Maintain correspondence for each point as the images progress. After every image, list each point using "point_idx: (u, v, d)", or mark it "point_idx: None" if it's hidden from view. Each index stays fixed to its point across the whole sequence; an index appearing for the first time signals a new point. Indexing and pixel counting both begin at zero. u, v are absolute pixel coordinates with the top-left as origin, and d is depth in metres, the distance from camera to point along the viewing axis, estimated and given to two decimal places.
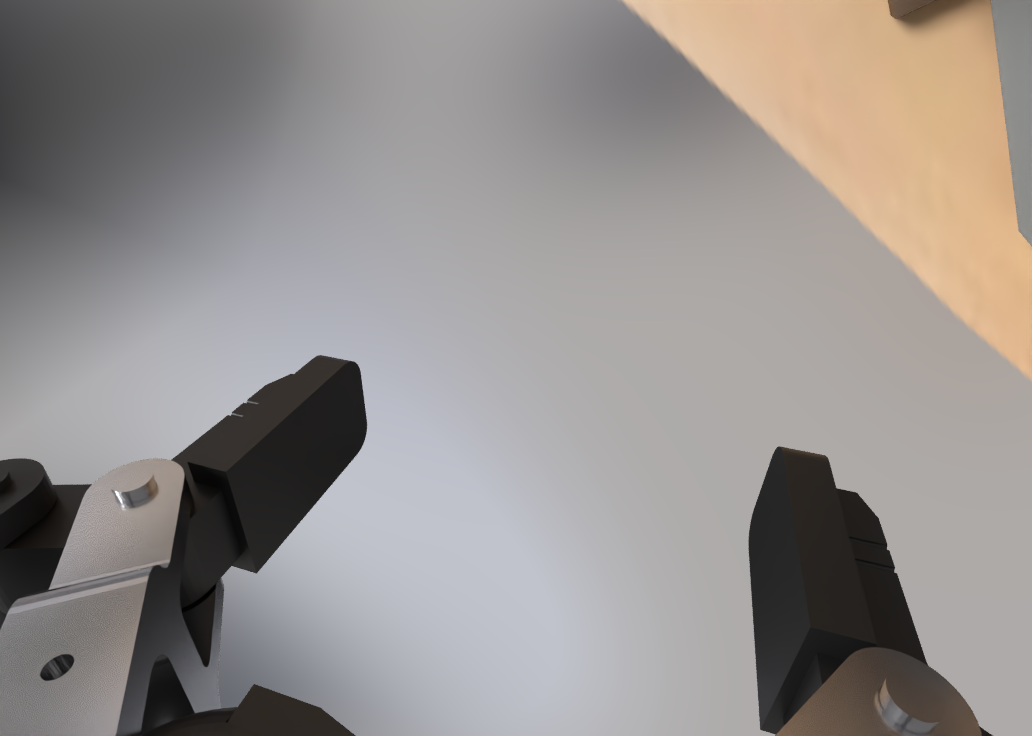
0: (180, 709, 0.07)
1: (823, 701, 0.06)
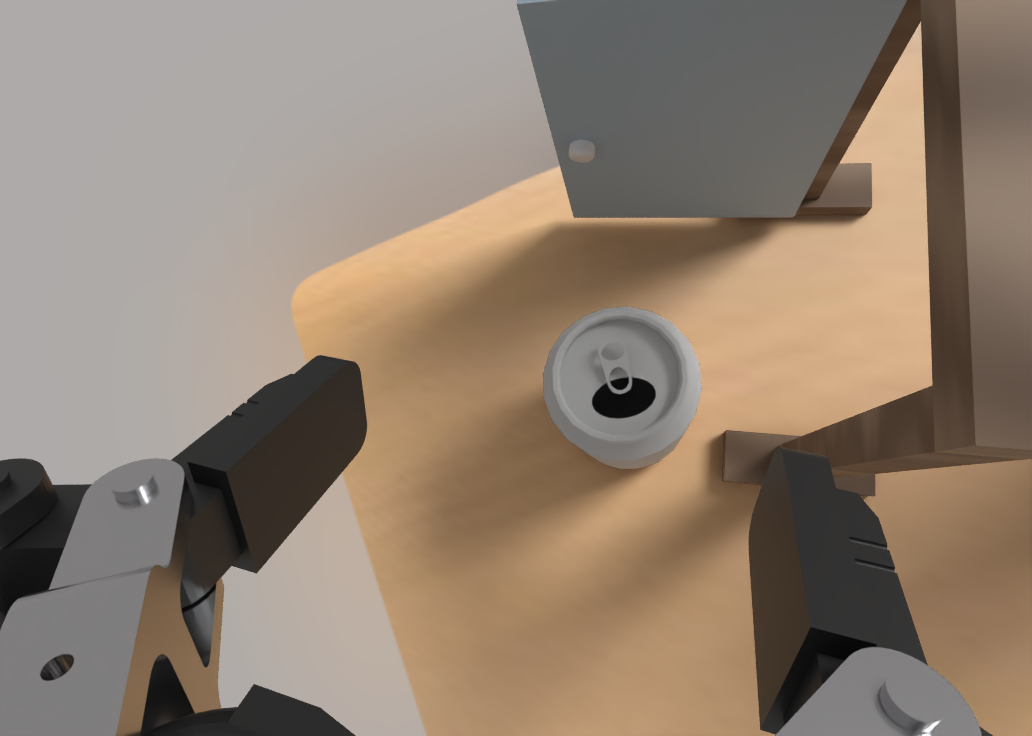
0: (180, 709, 0.07)
1: (823, 701, 0.06)
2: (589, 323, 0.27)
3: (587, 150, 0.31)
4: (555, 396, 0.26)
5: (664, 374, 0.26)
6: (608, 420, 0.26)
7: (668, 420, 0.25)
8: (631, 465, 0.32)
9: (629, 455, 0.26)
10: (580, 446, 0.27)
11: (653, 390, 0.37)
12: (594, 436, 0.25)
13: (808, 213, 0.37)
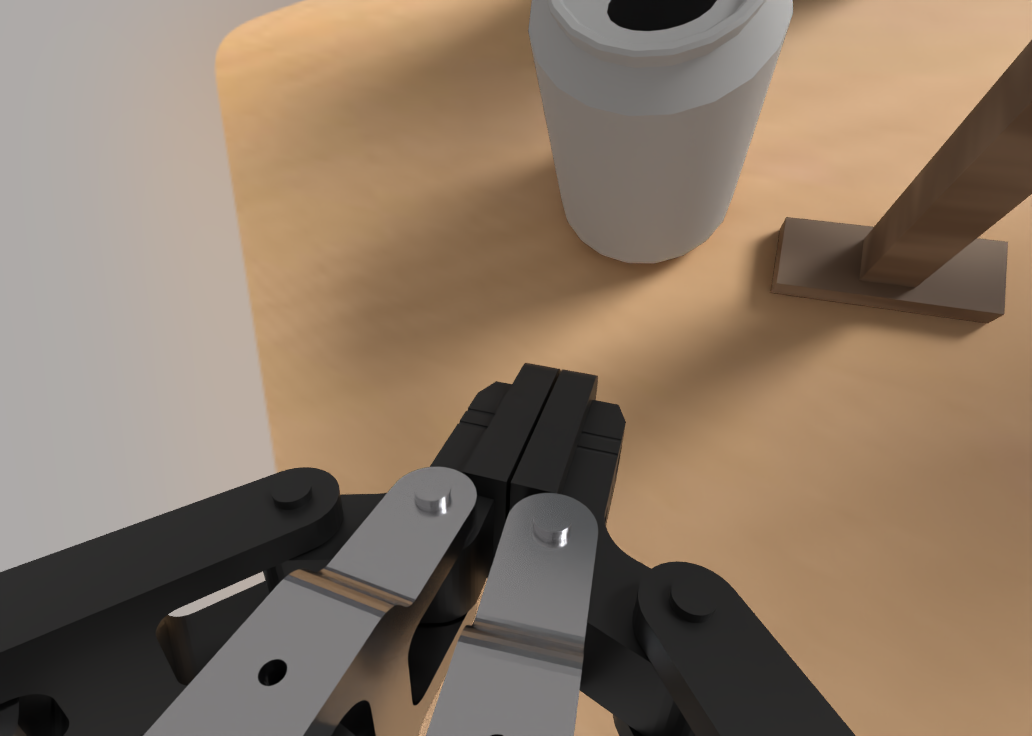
0: None
1: (502, 557, 0.07)
2: None
3: None
4: None
5: None
6: (633, 33, 0.15)
7: (738, 19, 0.14)
8: (648, 217, 0.21)
9: (659, 104, 0.15)
10: (578, 95, 0.16)
11: None
12: (605, 44, 0.15)
13: None
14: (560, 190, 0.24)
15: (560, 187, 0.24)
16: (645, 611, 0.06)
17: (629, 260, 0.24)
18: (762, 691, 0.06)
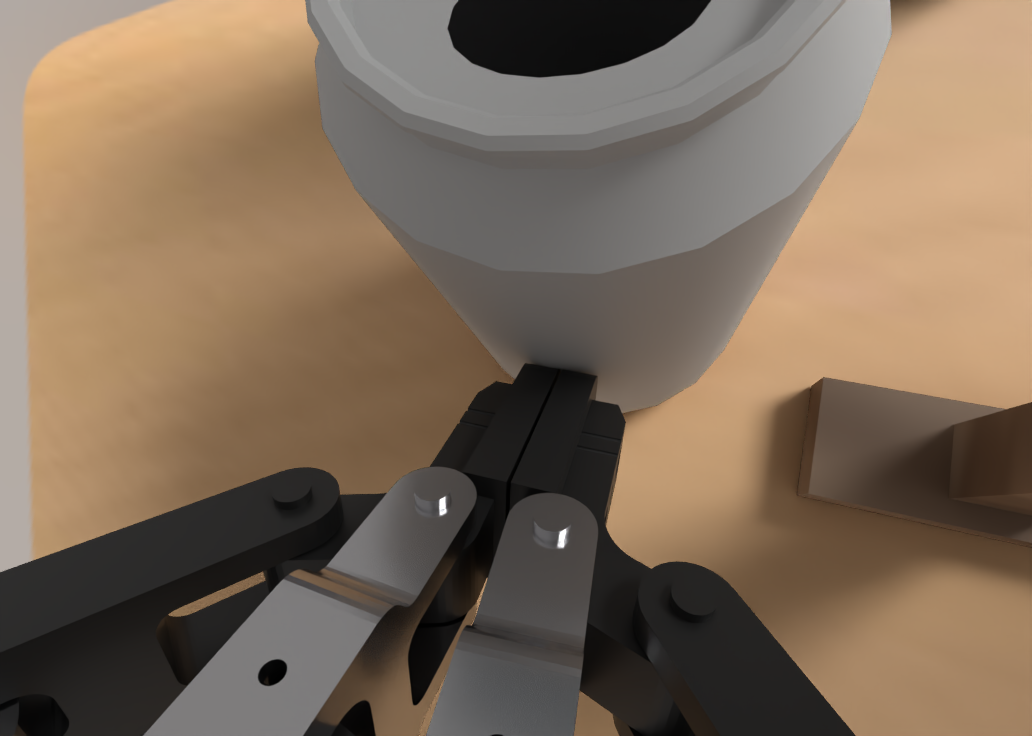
0: None
1: (502, 557, 0.07)
2: None
3: None
4: None
5: None
6: (501, 82, 0.06)
7: (766, 56, 0.05)
8: None
9: (566, 250, 0.06)
10: (394, 214, 0.07)
11: None
12: (418, 114, 0.06)
13: None
14: None
15: None
16: (645, 611, 0.06)
17: None
18: (762, 691, 0.06)
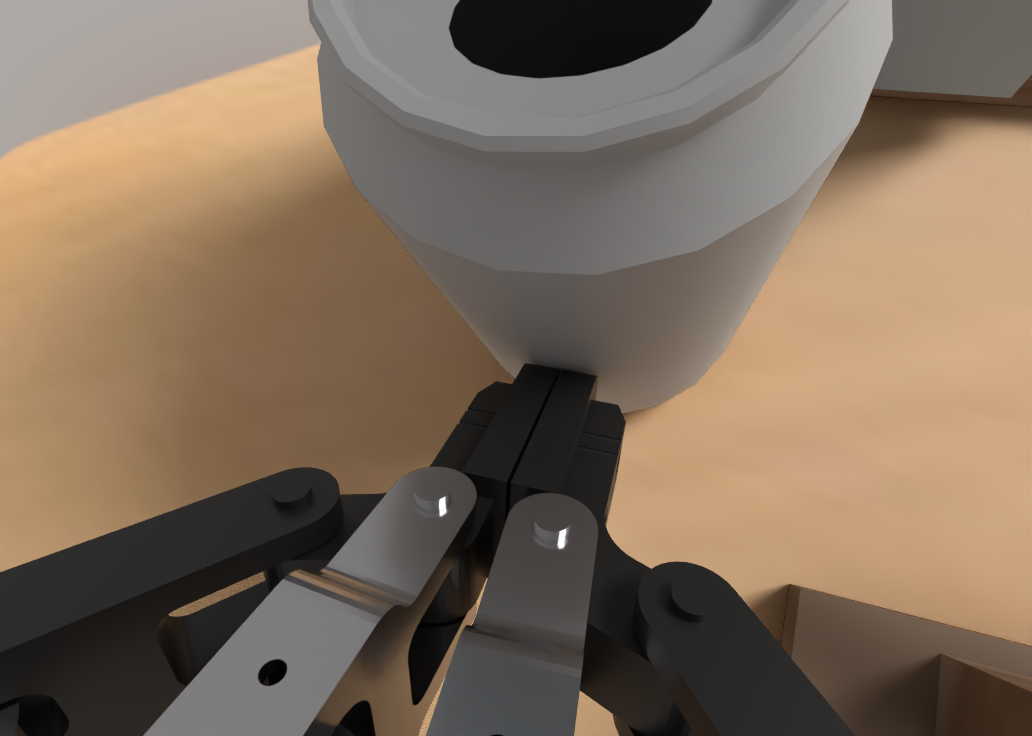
0: None
1: (502, 557, 0.07)
2: None
3: None
4: None
5: None
6: (501, 82, 0.06)
7: (764, 60, 0.05)
8: None
9: (564, 251, 0.06)
10: (394, 212, 0.07)
11: None
12: (417, 113, 0.06)
13: None
14: None
15: None
16: (645, 611, 0.06)
17: None
18: (762, 691, 0.06)
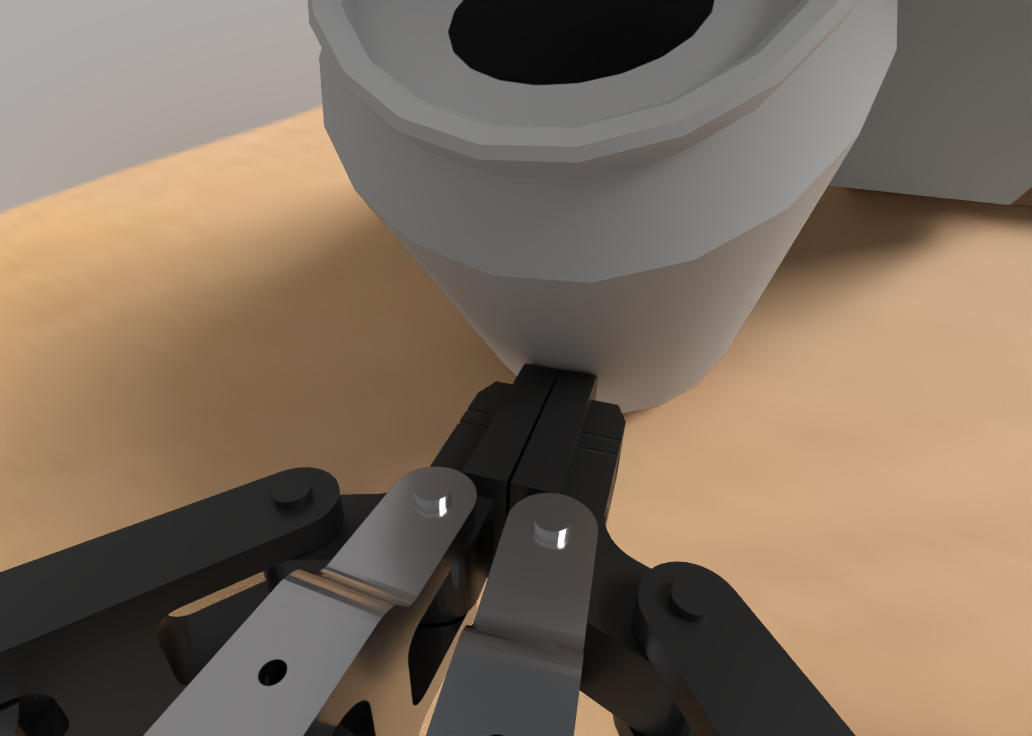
0: None
1: (502, 557, 0.07)
2: None
3: None
4: None
5: None
6: (498, 88, 0.06)
7: (761, 73, 0.05)
8: None
9: (559, 258, 0.06)
10: (391, 215, 0.07)
11: None
12: (413, 120, 0.06)
13: None
14: None
15: None
16: (645, 611, 0.06)
17: None
18: (762, 691, 0.06)
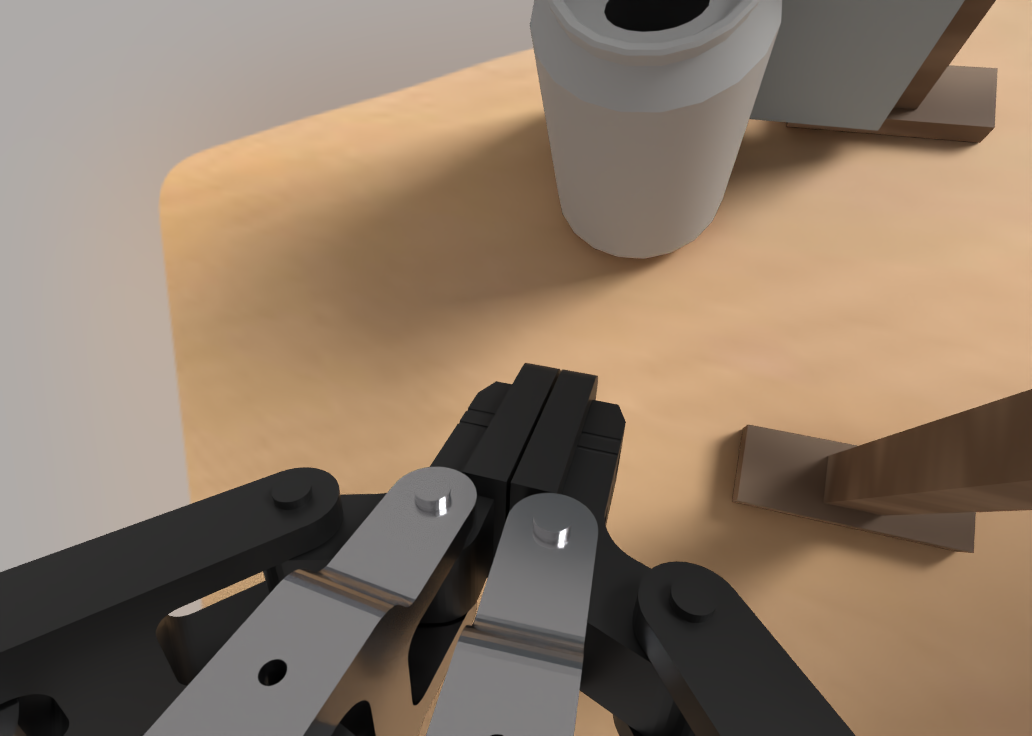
0: None
1: (502, 557, 0.07)
2: None
3: None
4: None
5: None
6: (627, 32, 0.16)
7: (726, 24, 0.15)
8: (637, 212, 0.22)
9: (648, 101, 0.16)
10: (573, 89, 0.17)
11: None
12: (600, 41, 0.15)
13: (895, 132, 0.26)
14: None
15: (556, 179, 0.24)
16: (645, 611, 0.06)
17: (619, 254, 0.25)
18: (762, 691, 0.06)
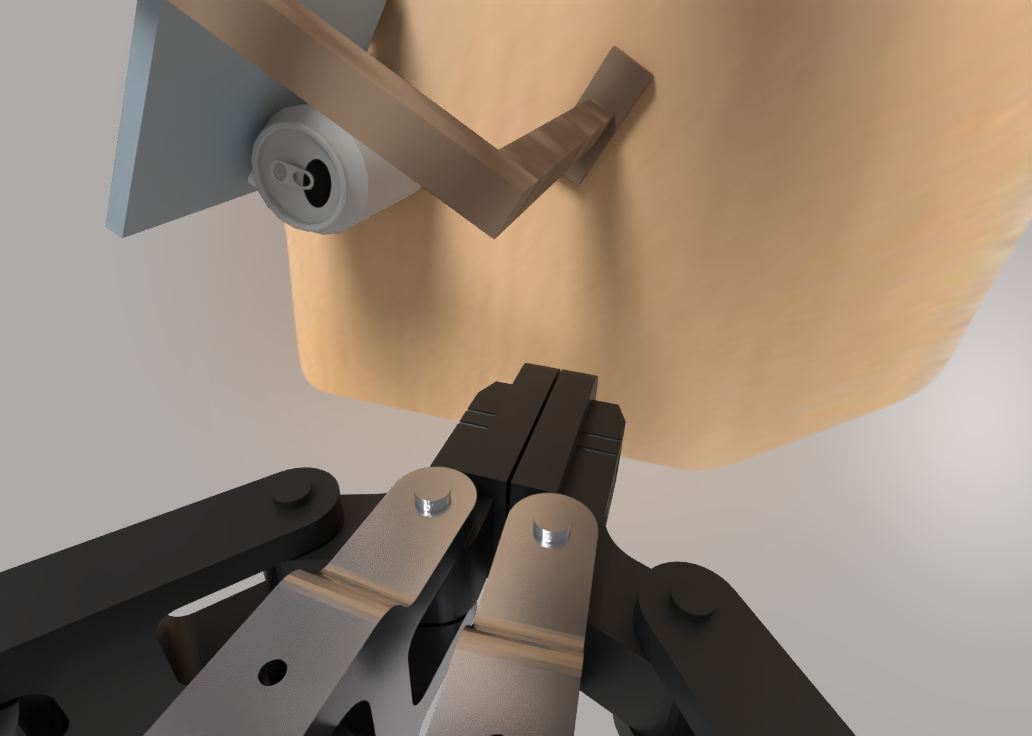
0: None
1: (502, 557, 0.07)
2: (256, 173, 0.34)
3: None
4: (298, 228, 0.35)
5: (310, 145, 0.32)
6: (328, 203, 0.34)
7: (339, 167, 0.32)
8: (406, 183, 0.39)
9: (361, 202, 0.34)
10: (345, 228, 0.35)
11: None
12: (332, 221, 0.34)
13: None
14: None
15: None
16: (645, 611, 0.06)
17: None
18: (762, 691, 0.06)
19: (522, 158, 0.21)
